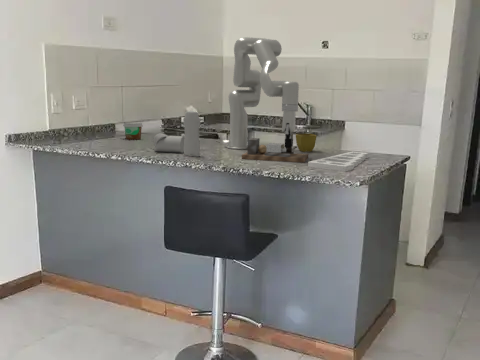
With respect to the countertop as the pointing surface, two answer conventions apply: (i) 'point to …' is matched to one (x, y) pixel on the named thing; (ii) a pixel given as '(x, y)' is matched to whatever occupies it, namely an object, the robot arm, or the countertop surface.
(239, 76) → the robot arm
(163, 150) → the bent grey cylinder
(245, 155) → the press base
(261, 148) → the nut
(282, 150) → the ram
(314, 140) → the flower pot
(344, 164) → the holder
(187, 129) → the tall pale column
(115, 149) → the countertop surface
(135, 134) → the food container
